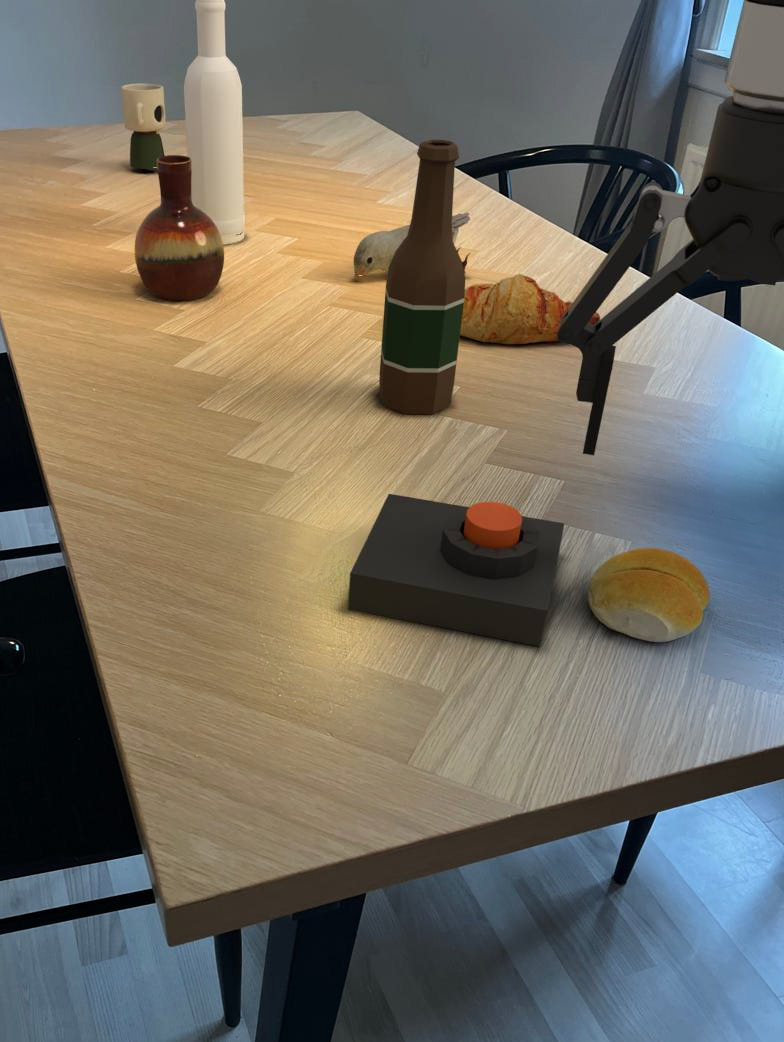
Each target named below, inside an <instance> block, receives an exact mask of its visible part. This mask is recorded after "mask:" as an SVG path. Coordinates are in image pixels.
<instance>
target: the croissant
mask: <svg viewBox="0 0 784 1042" xmlns="http://www.w3.org/2000/svg"><path fill="white" fill-rule="evenodd" d="M573 302H574V301H564V300H562V299H561V298H560V297H559V295H558V294H556V292H554V291H550V290H547V289H544V288H542V287H540V285H538V283H537V281H536V280H535V279H534V278H533V277H529V276H527V275H524V274H522V273H518V274H515V275H514V276H509V277H505V278H502V279H501V280H499V282H496V283H474V284H471V285H470V286H467V287H465V297H464V306H463V314H462V322H461V330H460V337H461V336H462V337H466V338H469V339H471V340H475V341H479V342H482V343H495V344H500V345H501V344H502V345H525V344H529V343H530V344H531V343H533V344H534V343H539V342H560V341H559V340H558V337H557V333H558V329H559V326H560V322H561V319H562V317H563V315H564V314H565V313H566V311H567V310H568V308H569V307H570V306H571V304H572V303H573ZM599 320H601V316H600V314H599V312H597V311H596V313H595V314H594V315H593V317H592V318H591V319H590V321H589V322H588V323H590V324H593V325H595V324H596V323H597V322H598V321H599Z"/></svg>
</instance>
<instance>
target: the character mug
mask: <svg viewBox="0 0 784 1042" xmlns="http://www.w3.org/2000/svg"><path fill="white" fill-rule="evenodd" d="M164 91H165V89H164V86H163V85H160V84H155V83H154V84H153V83H129V84H125V85H121V99H122V110H123V124H124V128H125V129H127V130H129V131H131V132H132V133H131V136H130V144H129V145H130V146H129V168H132V169H142V170H144V171H145V172H146V173H148V172H149V171H158V169H157V168H153V167H157V158H159V157H162V156H166V155H165V150H164V146H163V140H162V137H161V135H160V133H159V132H160V131H161V130H164V129H165V128H166V107H165V92H164Z"/></svg>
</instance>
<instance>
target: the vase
mask: <svg viewBox="0 0 784 1042" xmlns="http://www.w3.org/2000/svg"><path fill="white" fill-rule="evenodd" d="M157 169H158V170H157V176H158V180H159V181H158V183H159V184H158V185H159V191H160V204H159V205H158V206H157V207H155V208H153V209H152V210H151V211H150V212H149V213H148V214H147V215H146V216H145V217H144V218H143V220H142V222H141V223H140V225H139V227H138V229H137V231H136V234H135V239H134V260H135V265H136V268H137V271H138V274H139V277H140V279H141V282H142V283H143V285H144V287H145V288H146V289H147V290H148V292H150V293H151V294H152V295H153V296H155V297H157V298H159V299H162V300H167V301H174V302H175V301H176V302H185V301H186V302H187V301H194V300H199V299H203V298H206V297H207V296H209V295H210V294H211V293H213V291H214V290H215V289H216V288H217V286H218V285H219V282H220V281H221V277H222V274H223V270H224V263H225V247H224V246H225V245H223V241H222V237H221V234H220V232H219V230H218V228H217V226H216V225H215V223H214V222H213V220H212V219H211V218H210V217H209V216H208V215H207V214H206V213H205V212H204V211H202V210H201V209H200V208H198V207H196V206H194V205H193V202H192V192H191V176H192V160H191V158H189V157H187V155H182V154H181V155H179V154H170V155H169V154H168V155H165V156H162V157H159V158H157Z"/></svg>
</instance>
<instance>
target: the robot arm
mask: <svg viewBox="0 0 784 1042" xmlns="http://www.w3.org/2000/svg"><path fill="white" fill-rule="evenodd" d="M729 56H730V57H729V59H728V63H727V68H726V72H725V75H724V76H725V77H724V80H723V83H724V85H725V86H726V87H727V89H728V90H729V91H731V92H732V95H730V96H727V97H725V99H723V101H722V102H721V103H719V105H718V106H717V110H716V114H715V119H714V123H713V126H712V132H711V135H710V139H709V144H708V148H707V152H706V156H705V160H704V164H703V169H702V173H701V177H700V179H699V183H698V184H697V186H696V188H695V189H694V190H693V192H692V193H691V194H685V193H679V192H674V191H669V190H664V189H663V188H662V186H661V185H660V183H657V182H656V181H655V182H648V183H646V184H645V185H644V186H643V187H642V189H641V191H640V193H639V198H638V199H637V203H636V207H635V210H634V213H633V216H632V218H631V221H630V223H628V225H627V227H626V228H625V229H624V231H623V232H622V234H621V235H620V236H619V238H618V239H617V240H616V242H615V243H614V245H613V246H612V247H611V249H610V251H609V252H608V253H607V254H606V255H605V257H604V258H603V260H602V261H601V263H600V264H599V265H598V267H597V268H596V270H595V271H594V272H593V273H592V275H591V277H590V278H589V279H588V281H587V282H586V283H585V284H584V286H583V288H582V289H581V291H580V292H579V293H578V295H577V296H576V297H575V299H574V300H573V301H572V302H573V303H572V304H571V306H570V307H569V308H568V310H567V311H566V313H565V314H564V315H563V317H562V319H561V322H560V326H559V329H558V333H557V337H558V340H559V341H558V342H560V343H561V344H563V345H571V346H573V347H575V348H577V349H578V350H579V351H580V352H581V355H582V357H581V358H582V359H581V363H580V370H579V375H578V379H577V380H578V381H577V385H576V391H575V395H576V400H577V402H582V403H583V402H585V403H590V404H591V408H590V414H589V418H588V423H587V428H586V433H585V439H584V443H583V450H582V455H588V456H595V453H596V447H597V443H598V439H599V433H600V429H601V426H602V425H601V424H602V420H603V414H604V410H605V405H606V400H607V395H608V390H609V385H610V380H611V376H612V372H613V366H614V361H615V355H616V348H617V345H615V344H616V343H617V342H618V341H620V340H621V339H622V338H624V337H625V336H626V335H627V334H628V333H630V332H631V331H632V330H633V329H635V328H636V327H637V326H638V325H639V324H641V323H642V322H643V321H644V320H646V319H647V318H648V317H649V316H650V315H652V314H653V313H654V312H656V311H657V310H658V309H659V308H660V307H662V306H663V305H664V304H665V303H666V302H669V300H670V299H671V298H673V297H674V296H675V295H676V294H677V293H679V292H680V291H681V290H683V289H684V288H686V287H688V286H690V285H692V284H693V283H694V282H695V281H697V280H698V279H700V278H701V277H702V276H703V275H705V274H706V273H707V272H709V273H711V274H712V275H713V276H716V277H717V279H718V281H722V282H723V281H724V282H725V281H726V282H736V281H743V280H748V281H749V280H750V281H752V282H754V283H757V284H760V285H767V286H776V284H777V283H780V282H784V0H743V2H742V6H741V10H740V14H739V19H738V23H737V27H736V31H735V35H734V39H733V43H732V48H731V51H730V55H729ZM679 218H684V222H685V225H686V227H687V229H688V232H689V233H690V235H691V238H692V239H691V240H690V241H689V242H688V243H687V244H686V245H684V246H683V247H682V248H681V249H679V250H678V252H677V253H675V255H674V256H673V258H671V260H670V261H668V262H667V263H666V264H665V265H663V266H662V267H661V268H660V269H658V271H656V272H655V273H654V274H653V275H651V276H650V277H649V278H648V279H647V280H645V281H644V282H643V283H642V284H641V285H640V286H638V287H637V288H636V289H635V290H633V292H631V293H630V294H629V295H627V297H625V298H624V299H623V300H622V301H621V302H619V303H618V304H617V305H615V306H614V307H613V308H612V309H611V310H610V311H609V312H608V313H607V314H605V315H604V316H602V318H600V320H599V321H598V322H597V323H596V324H595V325H593V324H590V323H588V322H589V321H590V319H591V318H592V317H593V315H594V314H595V313H596V312H597V311H598V310H599V309H600V307H601V306H602V304H604V302H605V301H606V299H607V298H608V297H609V296H610V294H611V293H612V291H613V290H614V289H615V287H616V286H617V284H618V283H619V282H620V281H621V279H622V278H623V276H624V275H625V274H626V273H627V271H628V270H629V269H630V267H631V266H632V265H633V263H634V262H635V260H636V259H637V258H638V257H639V255H640V253H641V252H643V250H644V248H645V246H646V245H647V243H648V242H649V239H650V238H651V236H652V233H662V232H663V231H665V230H666V229H668V227H669V225H670V224H671V222H672V221H674V220H675V219H679Z"/></svg>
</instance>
